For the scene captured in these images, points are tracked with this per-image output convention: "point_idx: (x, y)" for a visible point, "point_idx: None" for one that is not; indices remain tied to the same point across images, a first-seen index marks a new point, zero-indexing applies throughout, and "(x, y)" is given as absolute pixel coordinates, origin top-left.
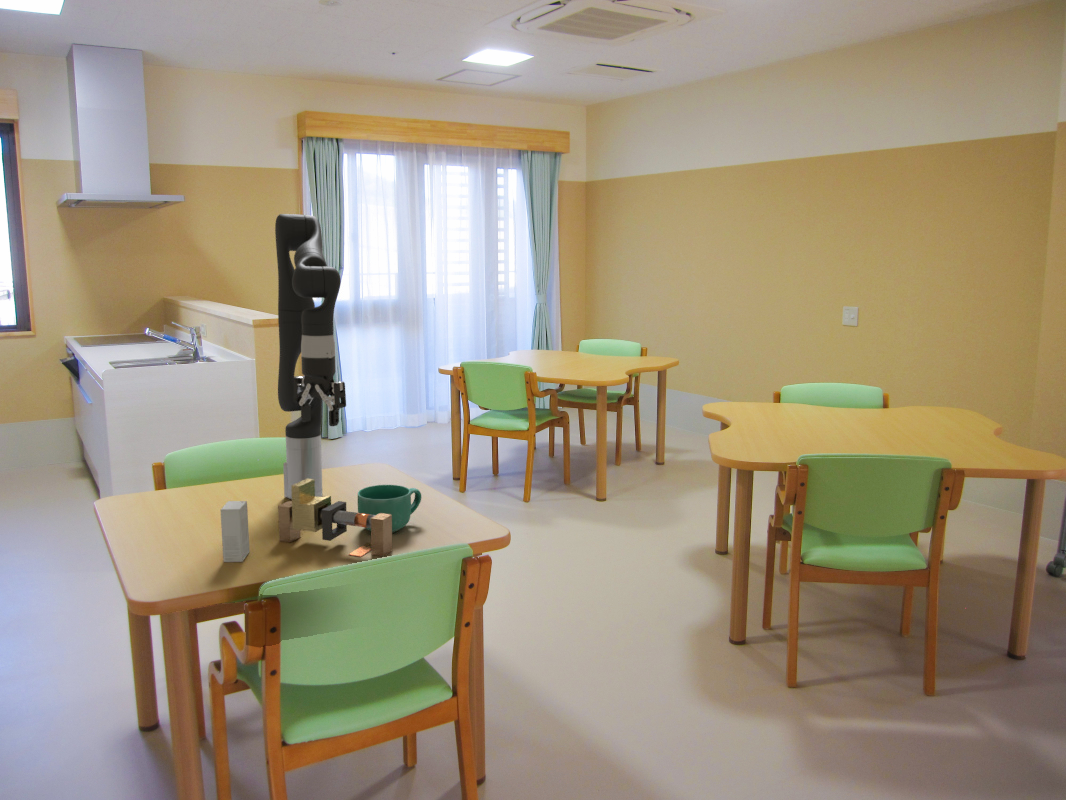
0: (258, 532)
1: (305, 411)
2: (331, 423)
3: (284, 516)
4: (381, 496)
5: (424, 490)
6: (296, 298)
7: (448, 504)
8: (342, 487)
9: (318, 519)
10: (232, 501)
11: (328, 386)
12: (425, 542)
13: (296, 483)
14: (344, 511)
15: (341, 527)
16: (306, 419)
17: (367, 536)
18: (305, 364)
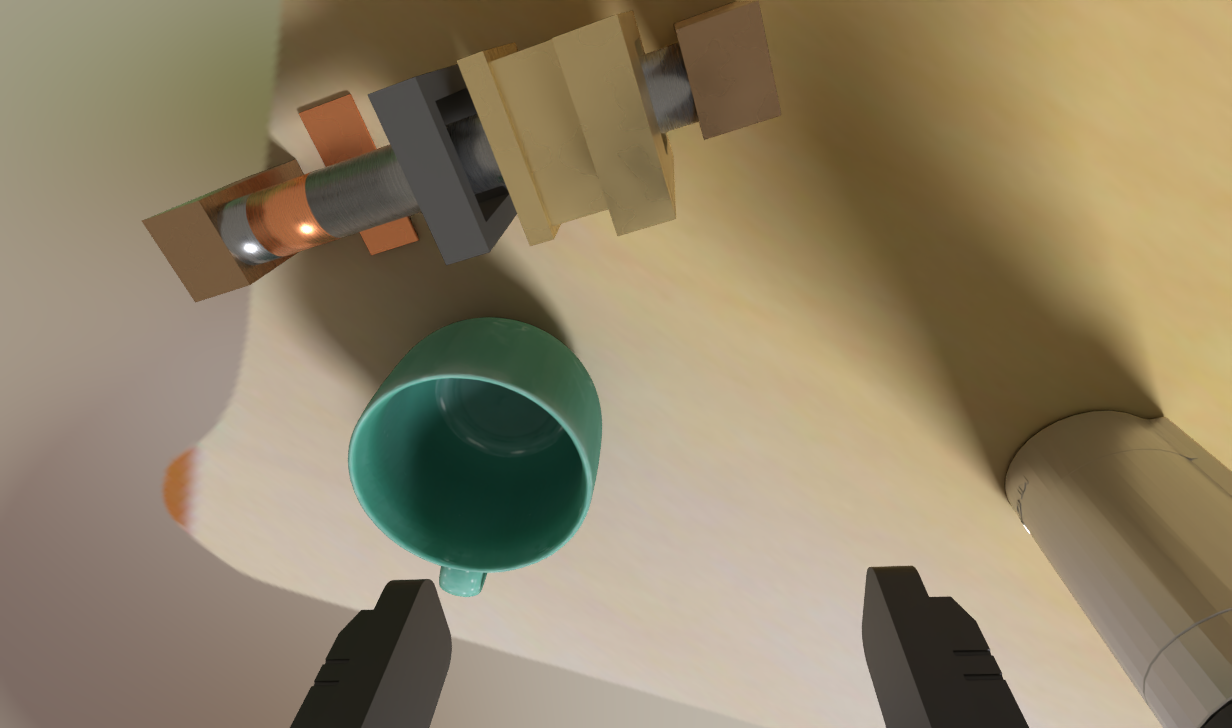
0: (926, 13)
1: (910, 704)
2: (377, 603)
3: (710, 15)
4: (566, 499)
5: (721, 705)
6: None
7: (550, 653)
8: (1011, 608)
9: None
10: None
11: None
12: (289, 374)
13: (632, 80)
14: (380, 190)
15: (486, 200)
16: (873, 608)
17: (487, 295)
18: None
